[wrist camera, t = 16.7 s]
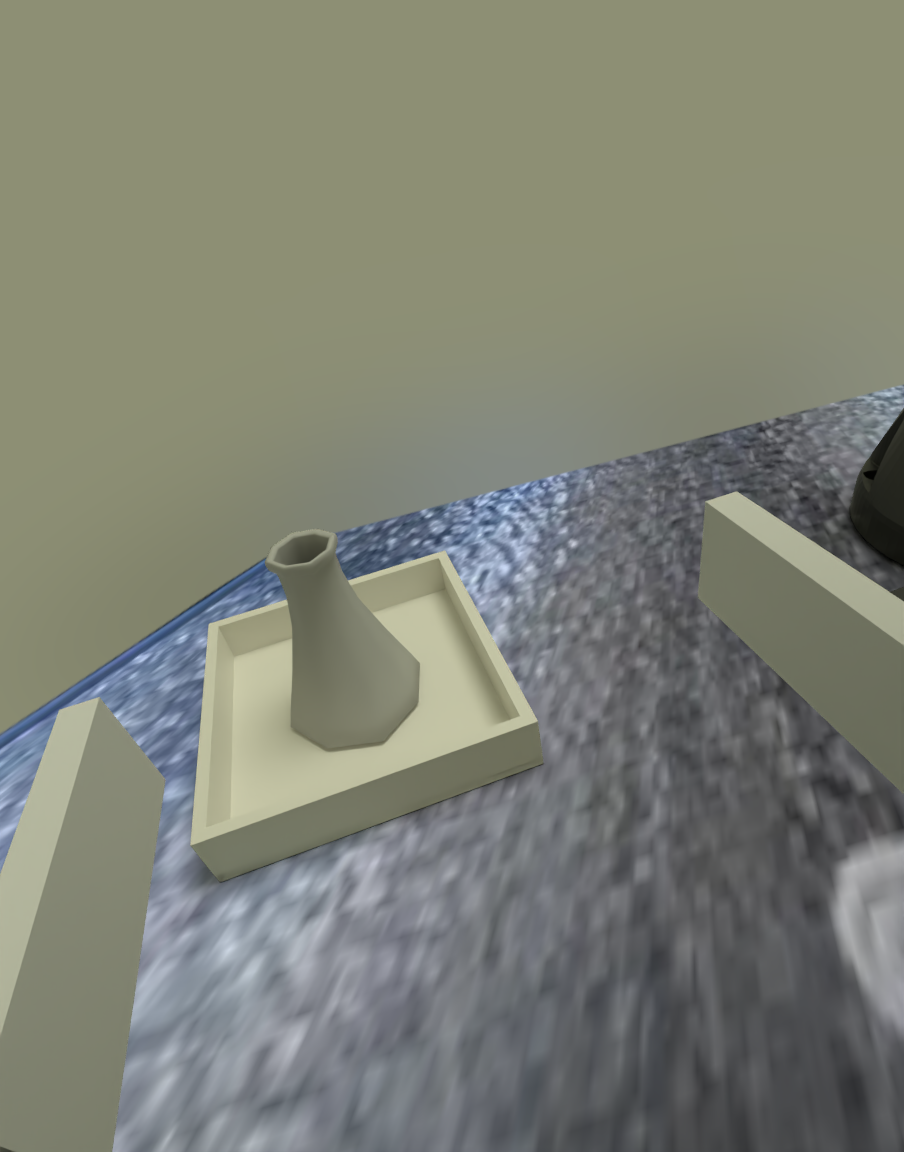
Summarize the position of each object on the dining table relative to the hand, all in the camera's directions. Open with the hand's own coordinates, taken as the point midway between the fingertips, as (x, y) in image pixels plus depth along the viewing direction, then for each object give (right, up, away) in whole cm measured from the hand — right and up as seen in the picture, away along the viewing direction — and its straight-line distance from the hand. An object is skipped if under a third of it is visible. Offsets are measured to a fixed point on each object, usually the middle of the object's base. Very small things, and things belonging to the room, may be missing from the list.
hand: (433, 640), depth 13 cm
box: (-5, -6, +20) cm, 21 cm away
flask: (-5, -5, +20) cm, 21 cm away
